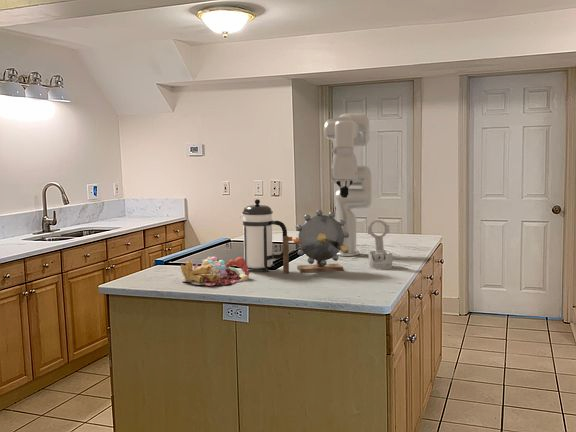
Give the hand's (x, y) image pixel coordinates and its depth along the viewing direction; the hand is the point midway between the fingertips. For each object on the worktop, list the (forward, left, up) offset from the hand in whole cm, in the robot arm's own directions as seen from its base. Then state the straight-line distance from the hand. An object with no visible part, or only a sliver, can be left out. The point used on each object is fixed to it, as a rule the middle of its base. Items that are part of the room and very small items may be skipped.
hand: (344, 197), depth 242 cm
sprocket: (-10, -15, -24) cm, 30 cm away
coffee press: (-29, -21, -31) cm, 47 cm away
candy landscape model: (-26, -46, -32) cm, 62 cm away
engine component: (+2, +19, -31) cm, 37 cm away
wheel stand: (-13, -6, -31) cm, 34 cm away
